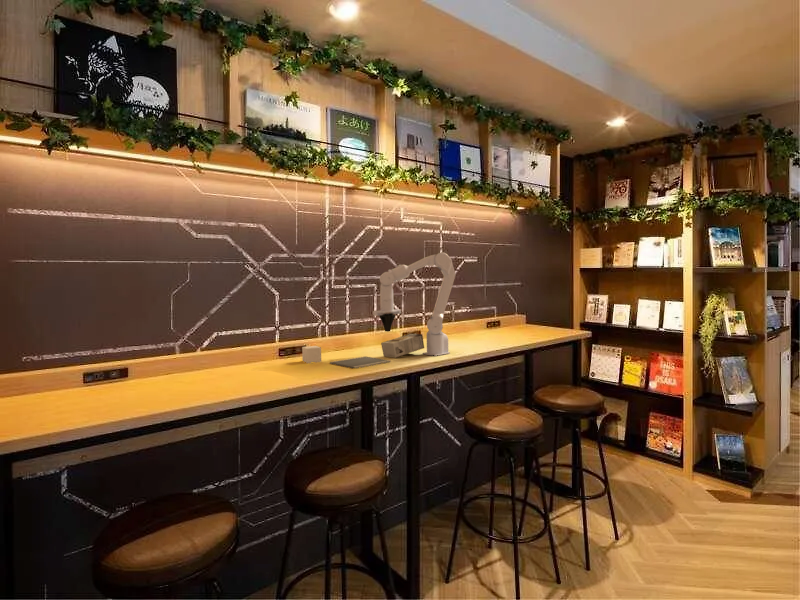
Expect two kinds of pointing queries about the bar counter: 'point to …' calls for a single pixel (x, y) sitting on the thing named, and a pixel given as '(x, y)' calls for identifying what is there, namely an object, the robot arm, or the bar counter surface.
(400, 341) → the coffee box
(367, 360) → the mat
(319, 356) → the white cube
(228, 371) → the bar counter surface
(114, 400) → the bar counter surface
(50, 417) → the bar counter surface
